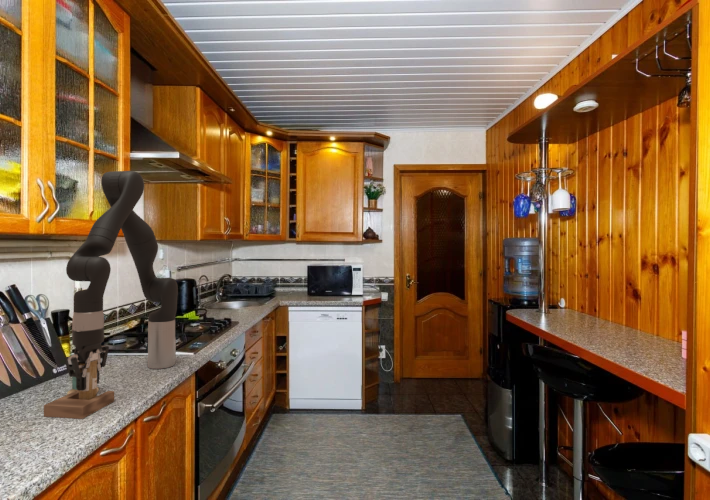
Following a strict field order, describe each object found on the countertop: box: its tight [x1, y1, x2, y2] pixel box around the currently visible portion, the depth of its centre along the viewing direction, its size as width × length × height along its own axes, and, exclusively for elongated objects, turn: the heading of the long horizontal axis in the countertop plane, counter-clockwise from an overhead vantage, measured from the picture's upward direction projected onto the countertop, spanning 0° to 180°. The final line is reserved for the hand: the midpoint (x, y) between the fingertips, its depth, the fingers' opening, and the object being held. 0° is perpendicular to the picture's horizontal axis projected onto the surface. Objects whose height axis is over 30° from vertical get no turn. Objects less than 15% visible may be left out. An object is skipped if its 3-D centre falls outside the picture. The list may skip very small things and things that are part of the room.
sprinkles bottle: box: [79, 353, 98, 400], centre depth 115 cm, size 5×5×14 cm
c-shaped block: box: [43, 390, 115, 420], centre depth 112 cm, size 12×11×3 cm
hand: (88, 386), depth 115 cm, fingers closed on sprinkles bottle, 4 cm apart
